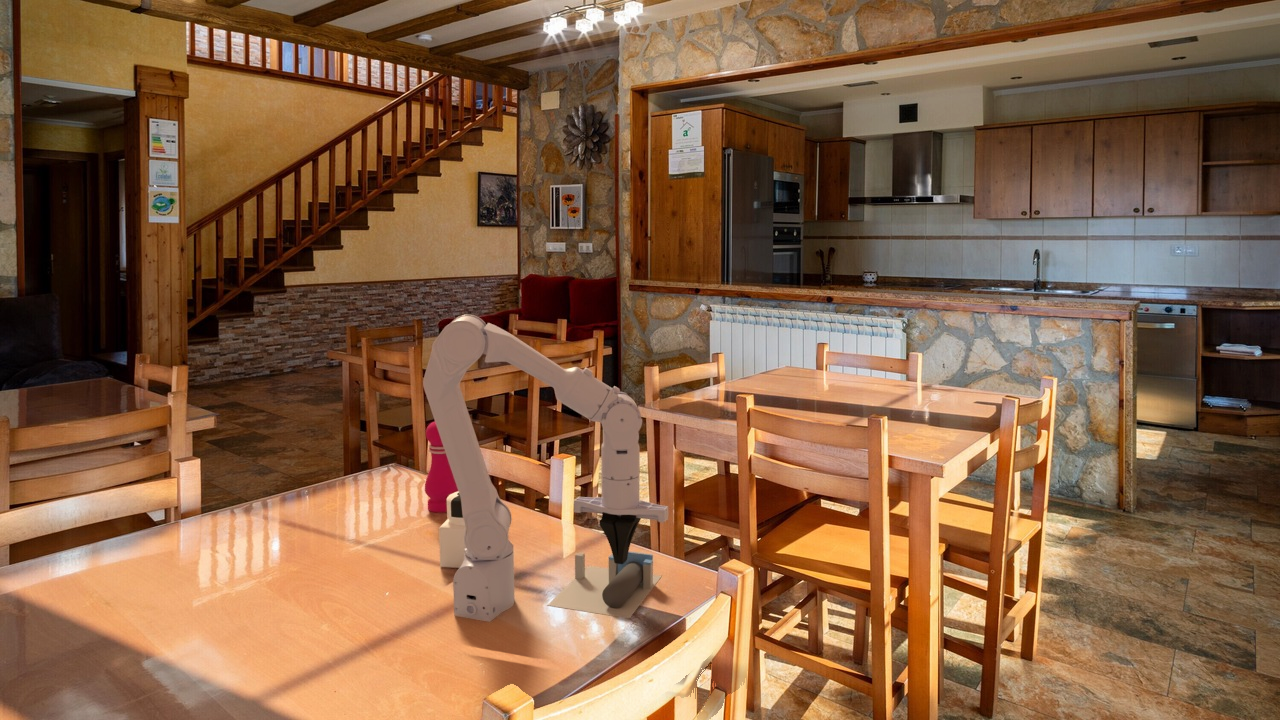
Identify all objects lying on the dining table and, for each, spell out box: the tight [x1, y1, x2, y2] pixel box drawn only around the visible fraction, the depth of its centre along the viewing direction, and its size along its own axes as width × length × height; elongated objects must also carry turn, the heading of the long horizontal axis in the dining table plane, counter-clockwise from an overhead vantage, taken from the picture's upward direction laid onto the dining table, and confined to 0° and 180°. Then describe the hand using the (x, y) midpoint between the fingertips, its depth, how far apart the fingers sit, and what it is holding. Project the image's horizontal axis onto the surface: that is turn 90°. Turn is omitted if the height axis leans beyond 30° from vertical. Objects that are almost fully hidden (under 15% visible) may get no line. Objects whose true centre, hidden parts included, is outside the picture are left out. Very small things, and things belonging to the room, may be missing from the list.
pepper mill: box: [424, 420, 458, 514], centre depth 169 cm, size 7×7×20 cm
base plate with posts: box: [546, 550, 663, 619], centre depth 128 cm, size 16×13×6 cm
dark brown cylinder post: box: [602, 562, 643, 608], centre depth 127 cm, size 10×4×4 cm, turn 161°
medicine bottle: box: [438, 491, 466, 569], centre depth 142 cm, size 7×7×12 cm
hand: (620, 561), depth 125 cm, fingers closed
